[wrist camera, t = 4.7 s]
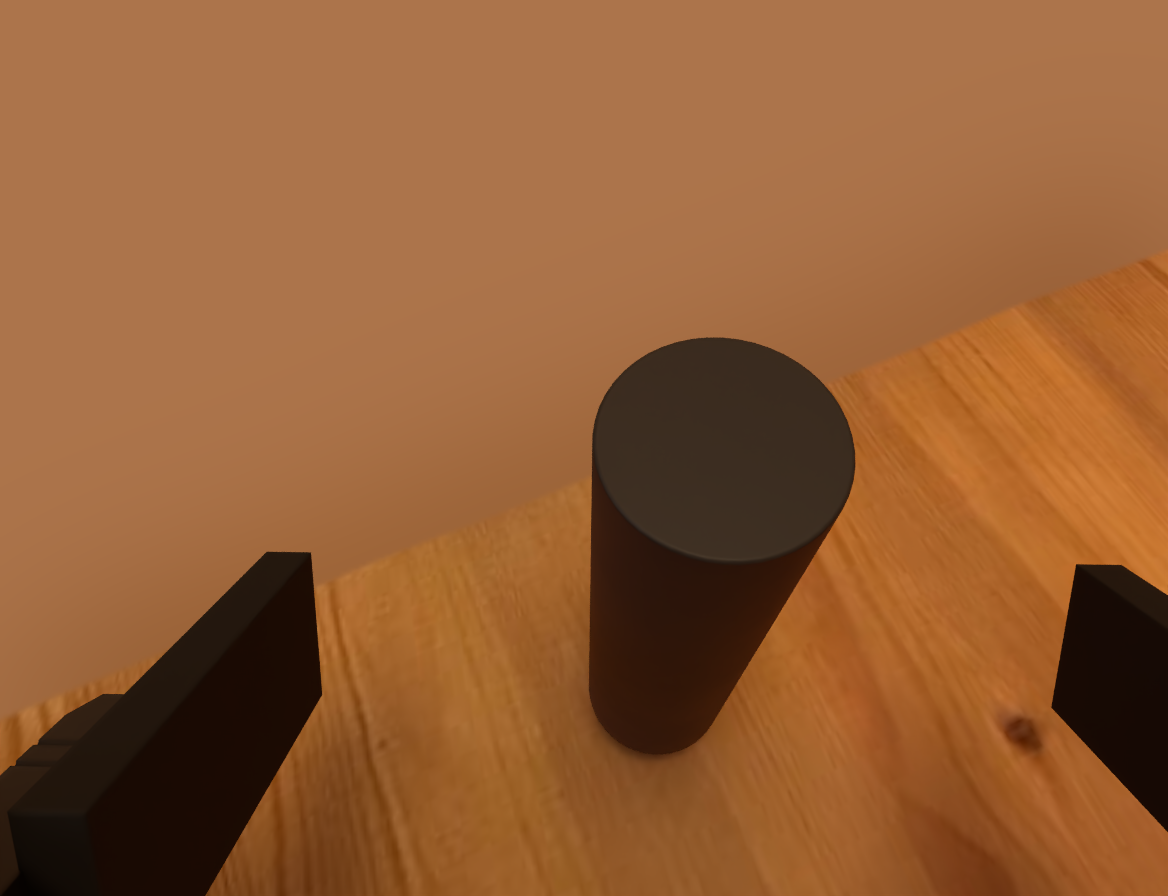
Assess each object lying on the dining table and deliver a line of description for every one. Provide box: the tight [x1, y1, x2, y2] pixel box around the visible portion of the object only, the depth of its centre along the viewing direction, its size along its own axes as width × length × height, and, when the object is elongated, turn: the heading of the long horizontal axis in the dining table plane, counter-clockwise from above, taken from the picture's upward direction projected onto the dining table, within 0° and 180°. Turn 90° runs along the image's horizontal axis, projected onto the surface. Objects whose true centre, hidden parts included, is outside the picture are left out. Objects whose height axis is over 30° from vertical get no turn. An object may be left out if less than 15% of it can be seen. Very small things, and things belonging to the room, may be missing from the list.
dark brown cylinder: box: [589, 338, 855, 754], centre depth 16 cm, size 3×3×13 cm
